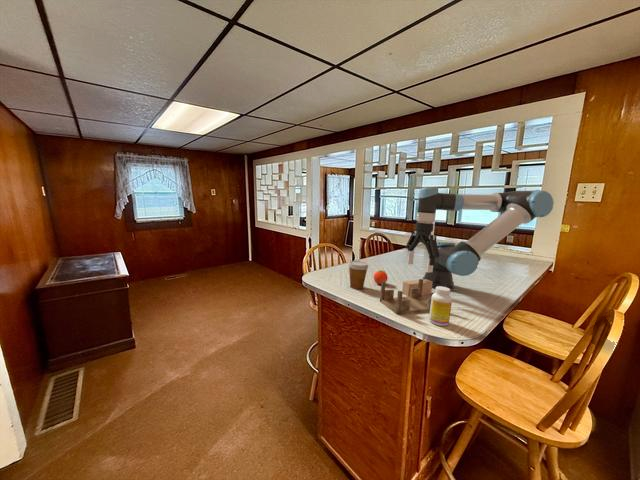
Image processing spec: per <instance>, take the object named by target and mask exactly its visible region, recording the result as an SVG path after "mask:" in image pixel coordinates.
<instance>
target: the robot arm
mask: <svg viewBox="0 0 640 480" xmlns="http://www.w3.org/2000/svg"><path fill="white" fill-rule="evenodd" d="M417 203H418V205H417V213H416V222H415V226H414V227H415V228H414V229H415V230H412V231H411V234H410V236H409V238H408V241H407V243H406V245H405V249H407V262H406V264H407V265H413V264H414V259H415V258H414V257H415V249H416V248H417V246H418V245H419V243H421V244H423V245H424V246H425V248H426V252H427V253H428V257H427V264H426V270H425V271H426V272H425V274H424V276H423V277H422V279H423V280H424V279H427V280H429V281H432V282H433V283H432V289H436V287H437V286H442V287H446V288H449V289H450V290H452V289H454V287H455V286H454V285H455V281H454V279H453V274H454V275H457V276H459V277H460V276H461V277H465V276H466V277H467V276H469V275H471V274H473V273H474V272H475V271H476V270H477V269H478V266H479V262H480V261H481V260H482V255H483V254H485V253H486V252H487V251H488V250H490V249H491V248H492V247H494V246H495V245H496V244H497V243H499V242H500V241H501V240H503V239H504V238H506V237H507V236H508V235H509V234H510V233H512V232H513V231H514V230H516V229H517V228H519V226H521V225H522V224H525V225H526V224H527V225H528V224H529V223H531V222H532V221H533V220H534V219H536V218H544V217H545V218H546V217H547V216H548V215H550V214H551V212H552V211H553V208H554V198H553V195H552V194H551V193H549V192H548V191H547V190H539V189H535V190H515V191H514V190H513V191H506V192H493V193H491V194H473V193H472V194H471V193H469V194H465V193H464V194H463V193H462V194H460V193H446V192H445V193H444V192H439V189H438V187H429V186H427V187H426V186H425V187H421V188H420V191H419V195H418V202H417ZM436 210H438V211H440V210H441V211H451V212H457V211H461V210H464V211H465V210H466V211H467V210H471V211H472V210H474V211H475V210H477V211H478V210H479V211H482V210H484V211H490V212H492V213H501V214H500V215H499V216H497V217H496V218H495V219H494V220H492V221H491V222H490V223H488V224H487V225H486V226H484V227H483V228H482V229H481V230H480V231H478V232H477V233H475V234H474V235H473V236H471V237H470V238H469V239H468V240H467V241H465V240H461V241H460V242H459V243H457V244H456V243H455V242H447V241H437V235H436V234H432V232H433V231H434V225H435V224H434V222H435V219H436V218H435V217H436Z"/></svg>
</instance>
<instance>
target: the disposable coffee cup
mask: <svg viewBox="0 0 640 480" xmlns="http://www.w3.org/2000/svg"><path fill="white" fill-rule="evenodd" d="M368 264H369V263H367V262H364V261H360V260H352V261H350V262H349V263H348V265H347V266H348V270H349V272H348V273H349V286H350V288H352V289H354V290H362V289H364V285H365V279H366V275H367V272H368V271H367V270H368V268H369V265H368Z"/></svg>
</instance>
